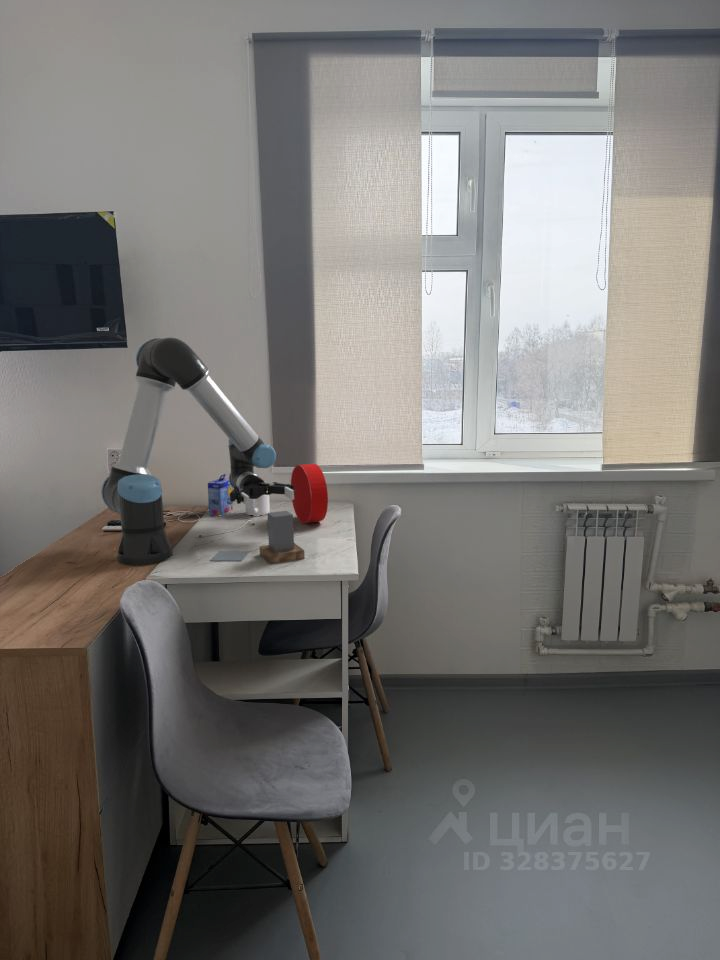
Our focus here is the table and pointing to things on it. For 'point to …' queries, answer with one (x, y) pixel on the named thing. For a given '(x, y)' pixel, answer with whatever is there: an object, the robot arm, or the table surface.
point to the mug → (258, 506)
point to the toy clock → (309, 493)
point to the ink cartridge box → (219, 496)
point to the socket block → (281, 554)
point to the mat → (230, 556)
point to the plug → (280, 531)
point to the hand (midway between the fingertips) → (270, 498)
